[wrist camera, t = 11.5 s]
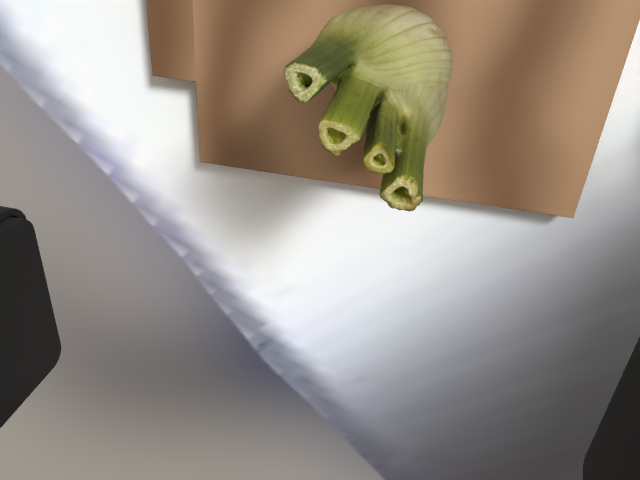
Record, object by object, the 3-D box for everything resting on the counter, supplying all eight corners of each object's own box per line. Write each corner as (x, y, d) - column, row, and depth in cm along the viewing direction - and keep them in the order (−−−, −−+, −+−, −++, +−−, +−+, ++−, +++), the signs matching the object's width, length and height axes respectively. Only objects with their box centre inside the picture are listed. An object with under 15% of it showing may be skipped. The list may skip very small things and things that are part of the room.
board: (670, -102, 23) (680, -102, 22) (569, 207, 30) (573, 217, 29) (146, -140, 26) (134, -142, 25) (168, 148, 34) (159, 155, 33)
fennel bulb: (333, 4, 27) (254, 70, 17) (440, -26, 25) (426, 25, 15) (363, 123, 29) (311, 243, 19) (462, 102, 28) (463, 220, 18)
